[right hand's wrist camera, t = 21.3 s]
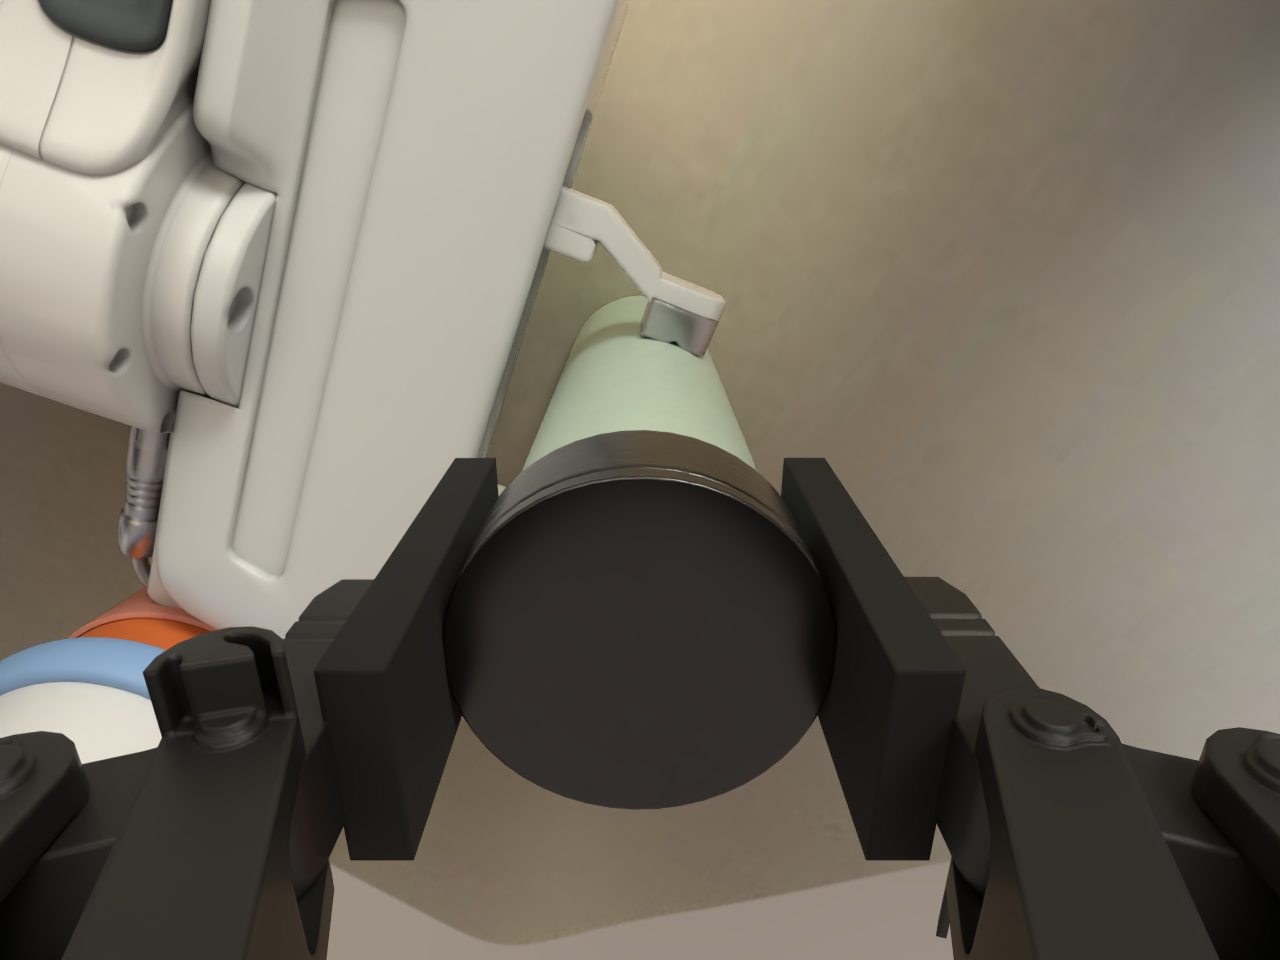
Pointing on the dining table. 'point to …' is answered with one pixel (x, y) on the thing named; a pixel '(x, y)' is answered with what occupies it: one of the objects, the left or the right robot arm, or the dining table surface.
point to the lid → (639, 623)
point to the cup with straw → (95, 680)
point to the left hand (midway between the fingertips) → (670, 432)
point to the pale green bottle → (636, 388)
